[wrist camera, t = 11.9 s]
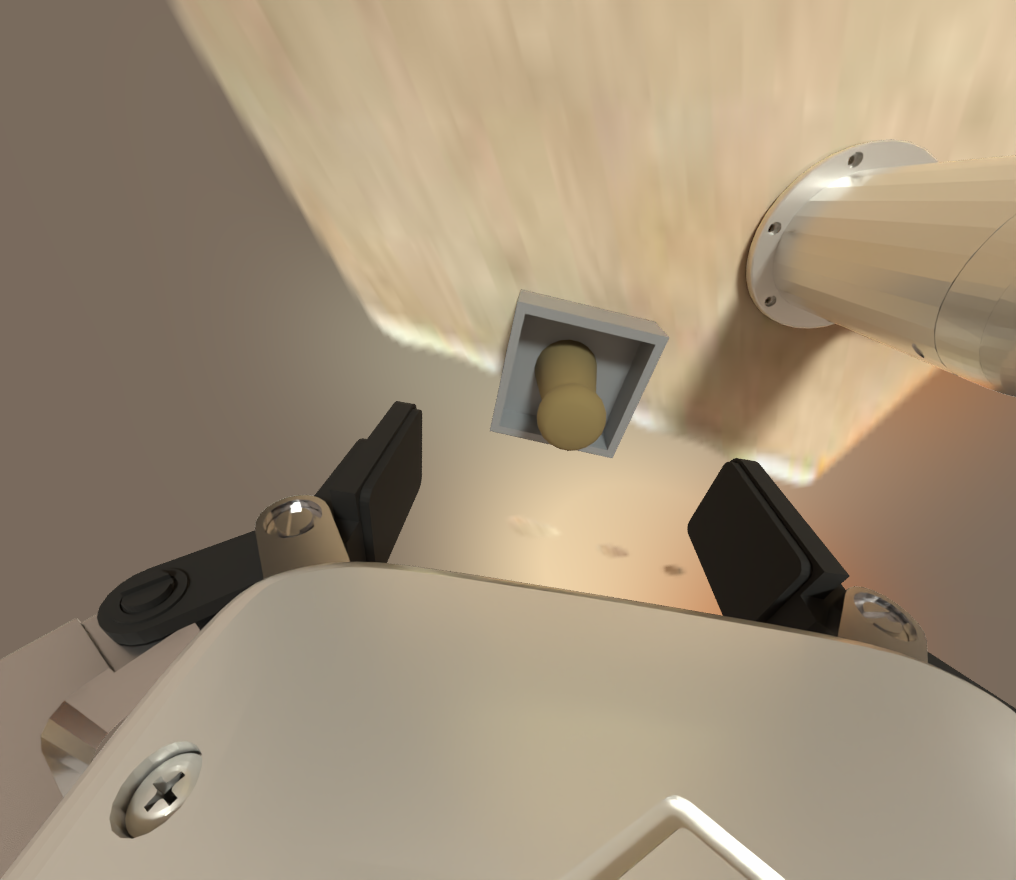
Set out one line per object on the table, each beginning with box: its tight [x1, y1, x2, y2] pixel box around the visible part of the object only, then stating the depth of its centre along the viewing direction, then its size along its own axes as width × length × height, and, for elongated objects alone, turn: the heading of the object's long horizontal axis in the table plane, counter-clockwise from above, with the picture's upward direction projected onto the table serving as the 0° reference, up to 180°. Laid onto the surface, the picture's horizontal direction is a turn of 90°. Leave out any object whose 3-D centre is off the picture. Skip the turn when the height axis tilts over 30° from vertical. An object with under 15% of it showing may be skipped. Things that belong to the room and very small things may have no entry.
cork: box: [535, 340, 606, 451], centre depth 31 cm, size 6×6×11 cm
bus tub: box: [490, 290, 669, 458], centre depth 34 cm, size 13×13×4 cm
